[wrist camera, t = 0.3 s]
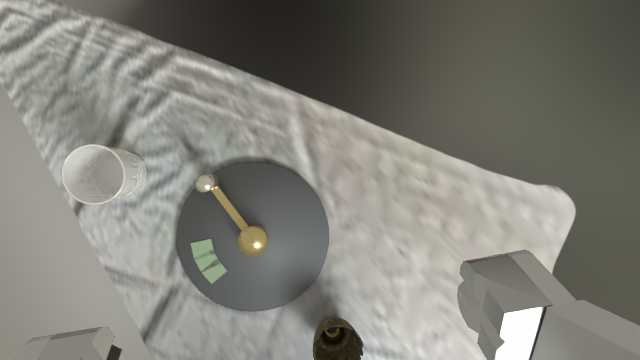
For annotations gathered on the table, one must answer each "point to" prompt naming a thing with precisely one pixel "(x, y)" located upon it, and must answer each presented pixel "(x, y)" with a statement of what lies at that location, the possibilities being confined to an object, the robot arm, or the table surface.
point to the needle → (236, 218)
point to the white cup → (102, 173)
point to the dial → (282, 247)
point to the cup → (337, 341)
